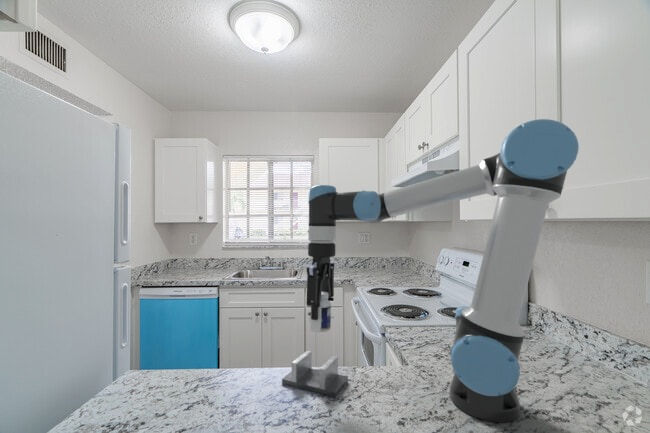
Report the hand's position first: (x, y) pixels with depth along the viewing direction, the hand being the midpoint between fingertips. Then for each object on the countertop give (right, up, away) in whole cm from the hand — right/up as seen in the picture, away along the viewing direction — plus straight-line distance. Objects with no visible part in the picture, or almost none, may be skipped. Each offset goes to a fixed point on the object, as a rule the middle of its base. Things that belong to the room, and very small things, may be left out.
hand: (320, 327), depth 79 cm
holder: (-2, -16, +2) cm, 17 cm away
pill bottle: (0, -1, 0) cm, 1 cm away
